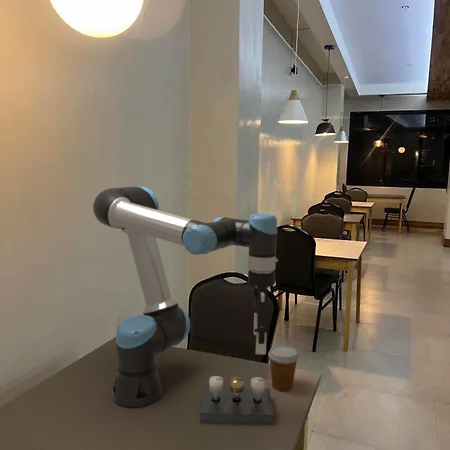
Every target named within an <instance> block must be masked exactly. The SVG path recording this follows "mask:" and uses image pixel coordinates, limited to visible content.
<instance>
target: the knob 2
mask: <svg viewBox="0 0 450 450" xmlns="http://www.w3.org/2000/svg"><path fill="white" fill-rule="evenodd" d="M250 388H251V392H253V393H255V401H260V394H261V393H263V392H264V391H265V388H266V379H264V378H263V377H261V376H254V377H252V378H250Z"/></svg>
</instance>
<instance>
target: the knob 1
mask: <svg viewBox="0 0 450 450" xmlns="http://www.w3.org/2000/svg"><path fill="white" fill-rule="evenodd" d="M208 383H209V385H208V387H209V390H210V391H211V392H213V399H214V400H218V399H219V392H221V391H222V390H223V387H224V378H223V377H222V376H219V375H214V376H213V375H212V376H210V378H209V379H208Z"/></svg>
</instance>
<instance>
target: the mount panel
mask: <svg viewBox="0 0 450 450" xmlns="http://www.w3.org/2000/svg"><path fill="white" fill-rule="evenodd" d="M199 423H201V424H229V425H231V424H232V425H262V426H264V425H265V426H268V425H271V426H273V425H274V411H273V402H272V395H271V389H270V387H268V388H266V387H265V391H264V392H263V393H261V394H260V401H255V393H253V392H251V387H244V391H243V392H241V393H240V397H239V400H238V401H235V400H234V393H233V392H231V391H230V386H229V387H224V386H223V390H222V391H221V392H219V399H218V400H214V399H213V392H211V391H210V390H209V386H203V391H202V397H201V405H200V412H199Z"/></svg>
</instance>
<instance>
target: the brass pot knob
mask: <svg viewBox="0 0 450 450" xmlns="http://www.w3.org/2000/svg"><path fill="white" fill-rule="evenodd" d="M229 387H230V391H231V392H233V393H234V400H235V401H238V400H239V397H240V393H241V392H243V391H244V388H245V379H244V378H243V377H241V376H233V377H230V378H229Z"/></svg>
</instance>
